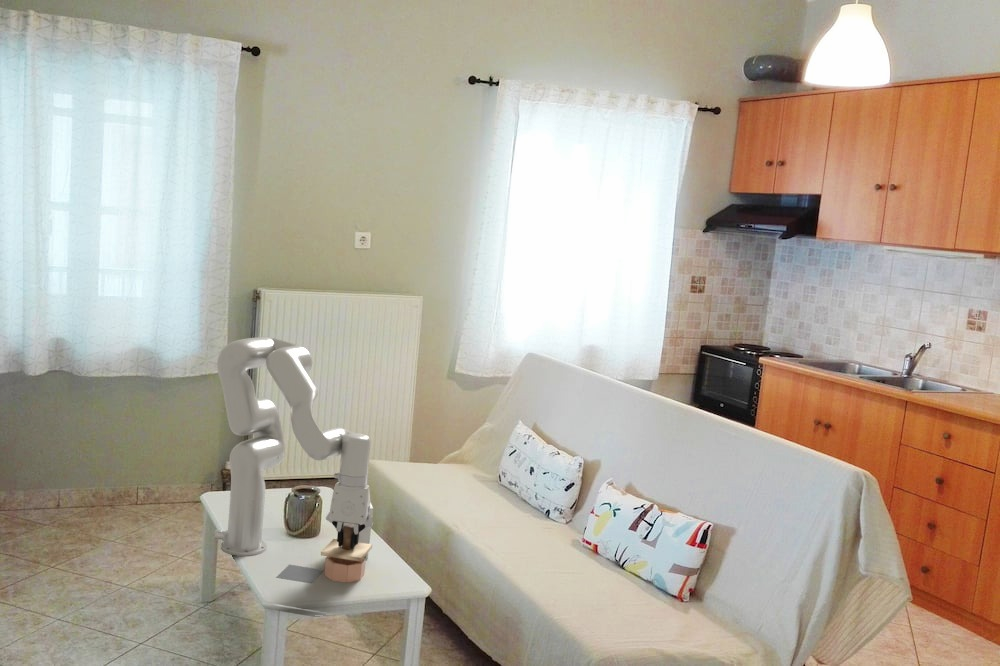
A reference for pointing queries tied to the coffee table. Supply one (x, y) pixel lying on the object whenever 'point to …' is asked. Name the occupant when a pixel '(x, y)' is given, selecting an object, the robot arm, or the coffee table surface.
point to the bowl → (344, 569)
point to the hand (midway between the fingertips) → (347, 545)
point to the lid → (346, 547)
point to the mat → (300, 573)
